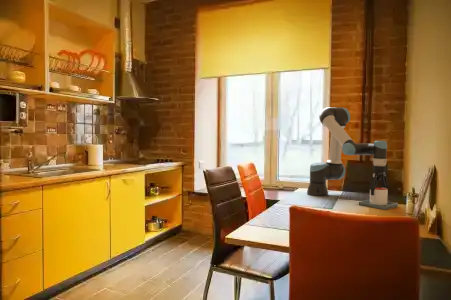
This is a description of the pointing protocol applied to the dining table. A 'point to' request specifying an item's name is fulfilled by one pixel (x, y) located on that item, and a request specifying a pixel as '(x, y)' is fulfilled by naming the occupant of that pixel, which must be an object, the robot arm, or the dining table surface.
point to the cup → (380, 196)
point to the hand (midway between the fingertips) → (378, 199)
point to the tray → (368, 204)
